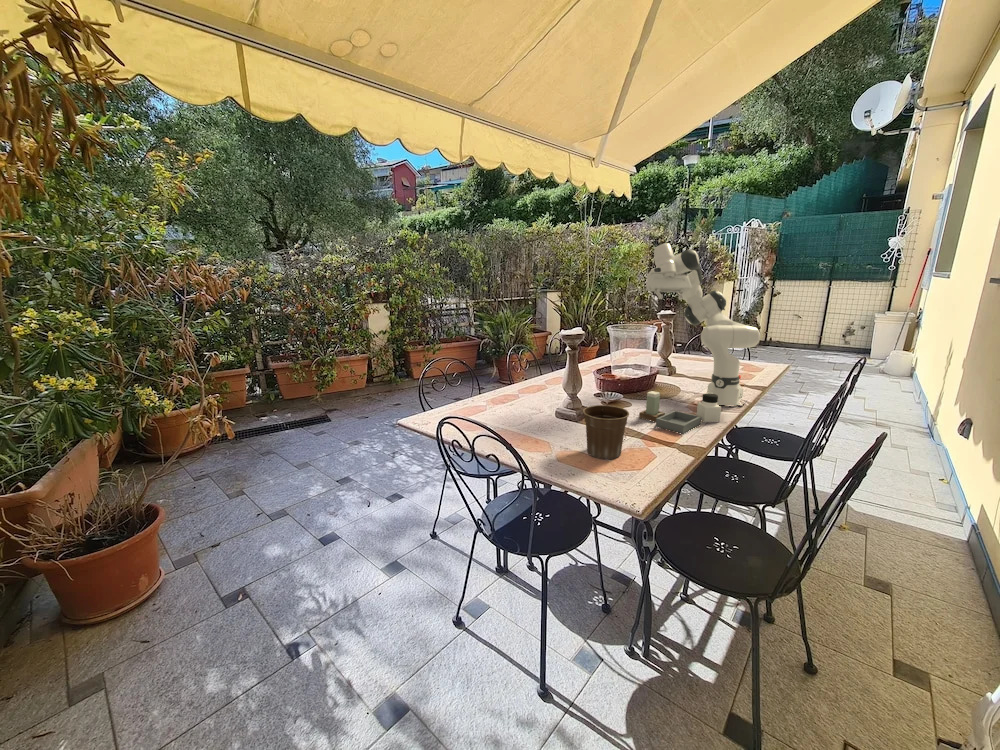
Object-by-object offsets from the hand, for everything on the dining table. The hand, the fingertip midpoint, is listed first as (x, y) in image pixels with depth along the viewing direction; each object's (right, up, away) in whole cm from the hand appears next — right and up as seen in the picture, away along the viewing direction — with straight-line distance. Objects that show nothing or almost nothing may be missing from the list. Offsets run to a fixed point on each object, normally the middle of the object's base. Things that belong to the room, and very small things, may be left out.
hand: (670, 298), depth 191 cm
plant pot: (-40, -64, -38) cm, 85 cm away
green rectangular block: (-10, -55, -3) cm, 56 cm away
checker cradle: (-10, -55, -3) cm, 56 cm away
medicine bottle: (+14, -55, -6) cm, 58 cm away
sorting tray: (-2, -57, -13) cm, 59 cm away
